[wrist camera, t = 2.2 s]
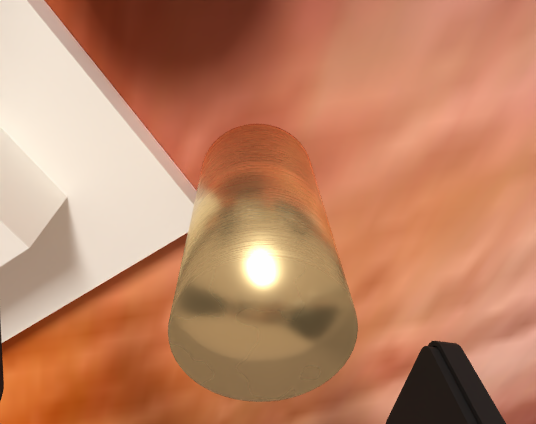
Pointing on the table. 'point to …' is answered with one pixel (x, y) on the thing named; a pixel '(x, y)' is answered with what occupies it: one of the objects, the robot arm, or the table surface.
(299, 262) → the cylinder
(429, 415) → the robot arm
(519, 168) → the table surface
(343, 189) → the table surface
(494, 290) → the table surface
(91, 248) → the flange socket
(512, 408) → the table surface
